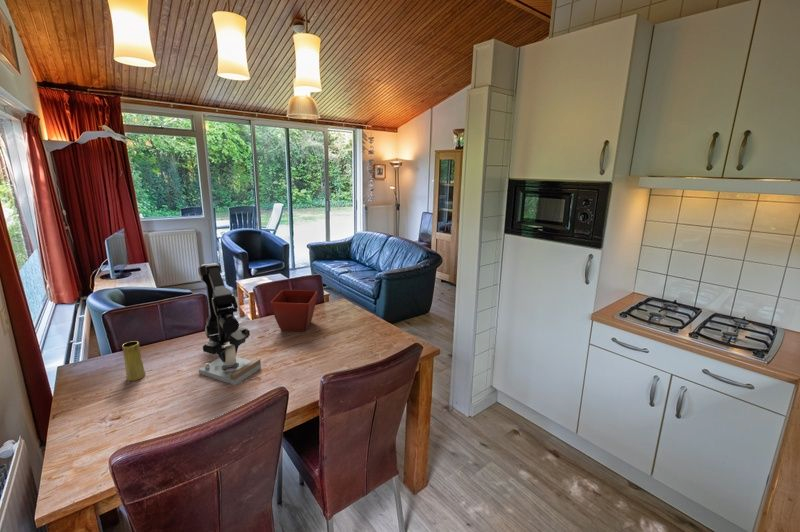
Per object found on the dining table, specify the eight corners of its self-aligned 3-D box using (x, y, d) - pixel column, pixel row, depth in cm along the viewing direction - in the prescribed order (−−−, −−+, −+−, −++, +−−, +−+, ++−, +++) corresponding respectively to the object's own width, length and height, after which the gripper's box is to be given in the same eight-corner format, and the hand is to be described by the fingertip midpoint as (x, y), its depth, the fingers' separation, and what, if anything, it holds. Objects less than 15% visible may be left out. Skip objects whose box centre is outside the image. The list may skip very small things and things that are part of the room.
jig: (199, 373, 151) (198, 364, 150) (226, 358, 164) (226, 349, 162) (234, 385, 144) (233, 375, 143) (261, 367, 157) (260, 359, 155)
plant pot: (309, 334, 188) (308, 303, 183) (272, 333, 188) (269, 302, 183) (318, 319, 206) (317, 290, 202) (283, 318, 206) (282, 289, 202)
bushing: (220, 363, 152) (218, 348, 150) (230, 358, 156) (228, 342, 154) (229, 366, 150) (227, 350, 148) (239, 360, 154) (237, 345, 152)
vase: (149, 374, 150) (143, 341, 146) (134, 382, 144) (128, 348, 140) (138, 371, 152) (132, 339, 148) (122, 379, 146) (116, 346, 142)
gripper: (221, 337, 137) (225, 374, 141) (258, 318, 154) (261, 353, 158) (199, 331, 141) (204, 368, 145) (237, 314, 158) (241, 347, 162)
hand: (229, 359), depth 152 cm, fingers closed on bushing, 5 cm apart
